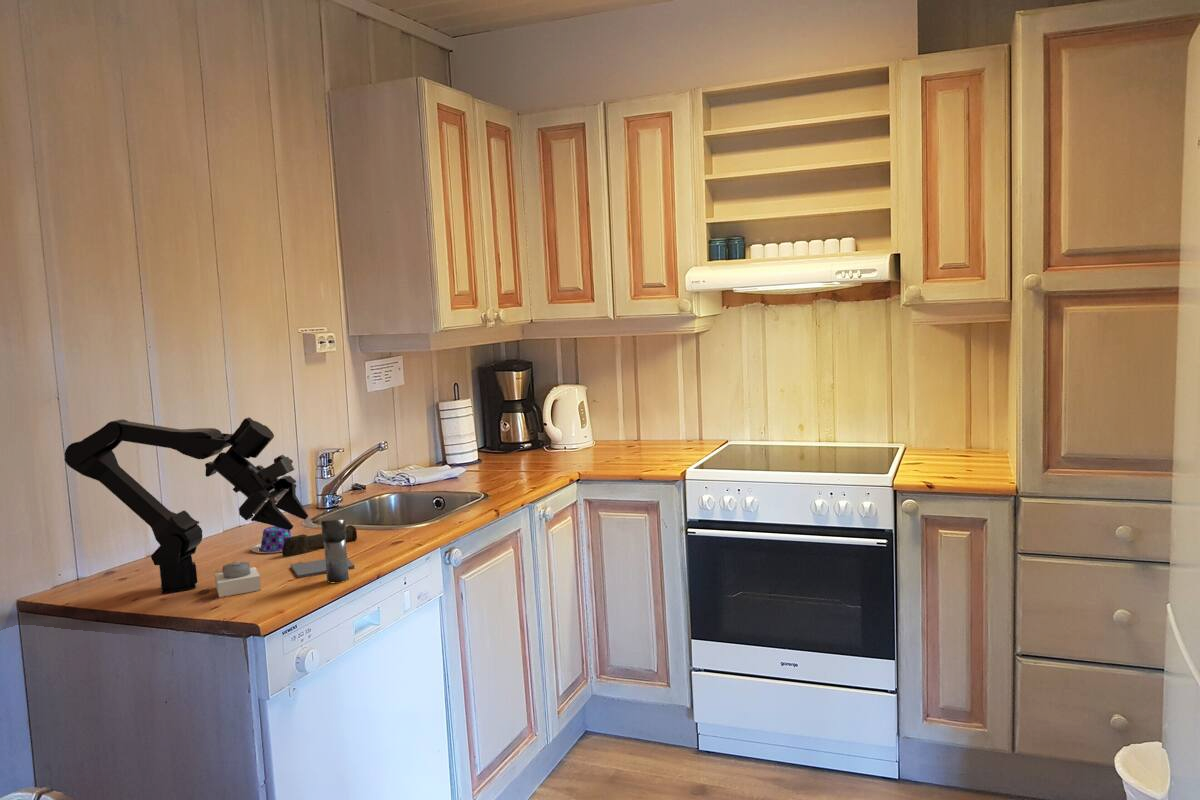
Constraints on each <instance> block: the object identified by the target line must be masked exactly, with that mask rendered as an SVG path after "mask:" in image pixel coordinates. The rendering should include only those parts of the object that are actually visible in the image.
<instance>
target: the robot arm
mask: <svg viewBox="0 0 1200 800" xmlns="http://www.w3.org/2000/svg"><path fill="white" fill-rule="evenodd" d="M274 434H275V433H274V432H273V431H272V430H271V429H270V428H269V427H268V426H267V425H265V424H262V423H261V422H259V421H257V420H254V419H252V418H251V417H245V418H244V419H243V420H242V421H241V423H240V424H239V427H238V428H237V429H236V430H235V431H234V432H233V433H222V432H221V430H219V429H218V428H215V427H214V428H213V427H210V428H209V427H203V428H201V427H199V428H187V429H186V428H185V429H179V428H173V427H167V426H162V425H155V424H148V423H142V422H141V423H140V422H135V421H129V420H126V419H117V420H113V421H109V422H107V423H106V424H105V425H103V426H102V427H101V428H99V430H97V431H95V432H93V433H91V434H90V435H88V436H87V437H84V439H82V440H78V441H75V442H73V443H70V444H68V446H67V447H66V449H65V450H64V462H65V464H66V465H67V467H69V468H70V469H72V470H74V471H75V472H77V473H79V474H80V475H81V476H84V477H86V478H90V479H92V480H95V481H98V482H99V483H101V484H102V485H103V486H104V487H105V488H106V489H107V490H108V491H110V492H111V493H112V494H113V495H115V496H116V498H118V500H120V501H121V502H122V503H123V504H124V505H125V506H126V507H127V508H129V509H130V510H132V512H134V514H136V515H137V516H138V517H139V518H140V519H142V520H143V521H144V522H145V523H146V524H147V525H148V526H149V527H150V528H151V530H152V533H153V536H154V539H155V541H157V543H158V544H159V546H158V547H157V549H155V551H154V552H153V553H152V554H151V555H150V558H151V561H152V562H153V564H154V566H159V575H160V591H161V594H168V593H174V592H180V591H187V590H191V589H193V590H194V589H196V585H197V583H198V574H197V573H198V572H197V566H196V562H195V561H193V557H192V555H194V554H195V553H196V551H197V549H198V548H197V547H198V546H199V545H200V544H201V542H202V540H203V530H202V528H201V526H200V525H199V524H200V521H198V520H196V519H194V518H193V517H192V516H191V515H190V514H189V513H188V511H186V510H181V511H179V512H177V513H176V512H174V511H171V510H169V509H168V508H167V507H166V506H165V505H163V504H162V503H161V502H160V500H158V499H157V498H156V497H155V496H154V495H153V494H151V493H150V492H149V491H148V490H147V489H146V488H144V486H142V484H140V483H139V482H138V481H136V479H134V478H133V477H132V476H131V475H130V474H129V473H127V471H125V470H124V469H123V468H122V467H121V466H120V464H119V463H118V459H117V456H116V454H115V453H114V451H113V450H114V449H116V448H117V447H118V446H119V445H120V444H121V443H122V442H128V443H134V444H142V445H147V446H154V447H159V448H160V447H161V448H167V449H172V450H175V451H177V452H178V453H180V454H182V455H185V456H187V457H190V458H194V459H196V460H206V459H208V458H211V457H213V456H216V455H217V456H216V457H215V458H214V459H213V460H212V461H208V462H206V463H205V464H204V465H205V466H204V467H205V476H206V477H207V478H208V477H211V476H213V475H216V473H218V474H219V475H221V477H223V478H224V479H225V480H226V481H227V482H228V483H230V484H231V485H232V486H233V488H232V490H233V492H234V493H238V492H240V493H241V494H243V496H245V497H246V500H245V501H244V502H243V503H242V504H241V505H240V506H239V507H238V514H239V516H241V518H243V519H244V520H245V521H249V520H250V521H251V522H257V523H261V524H266V525H270V526H276V527H280V528H283V529H287V530H290V531H291V530H292V529H293V528H294V525H293V523H292V522H291V520H289V519H288V518H287V517H286V515H285V514H284V513H283V512H286V513H288V514H290V515H292V516H294V517H297V518H300V519H302V520H304V521H305V520H307V519H308V517H309V514H308V513H307V511H306V510H305V508H304V507H303V505H302V504H301V501H300V500H299V498H298V497H297V495H296V492H297V491H296V490H297V489H296V488H297V480H296V479H295V478H294V477H292V476H291V475H287V474H289V473H290V472H293V471H295V468H294V465H293V464H292V463H294V461H293V460H292V459H291V458H289V456H285V455H284V454H281V455H278V456H277V457H275V458H273V463H272V464H271V465H268V466H266V467H264V466H263V465H262V464H261V465H259V464H258V465H257V466H255V465H254V464H253V463H252V462H251V461H249V460H248V459H250V458H252V459H253V458H254V459H255V458H258V456H259V455H260V454H261V453H262V452H263V450H265V448H267V446H268V445H269V444H270V443H271V441H272V440H273V439H274V438H275V435H274ZM228 447H229V448H228ZM225 448H228V450H226V452H222V451H223V450H224V449H225ZM279 477H280V478H279ZM282 511H283V512H282Z"/></svg>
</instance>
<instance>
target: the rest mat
mask: <svg viewBox="0 0 1200 800" xmlns="http://www.w3.org/2000/svg"><path fill="white" fill-rule="evenodd" d="M347 562H348V568H353V569H355V568H354V567H355V564H354V563H353V562H352V561H351V560H350V559H349V558H348V557H347ZM290 569H292V571H293V572H294V574H295V576H296V577H297V578H298V579H301V578H300V577H302V578H307V577H306V576H308V577H311V576H312V575H313V576H317V574H319V575H323V574H322V573H325V574H327V572H326V561H325V558H323V559H317V560H311V561H306V562H299V563H293V564H290Z"/></svg>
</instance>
